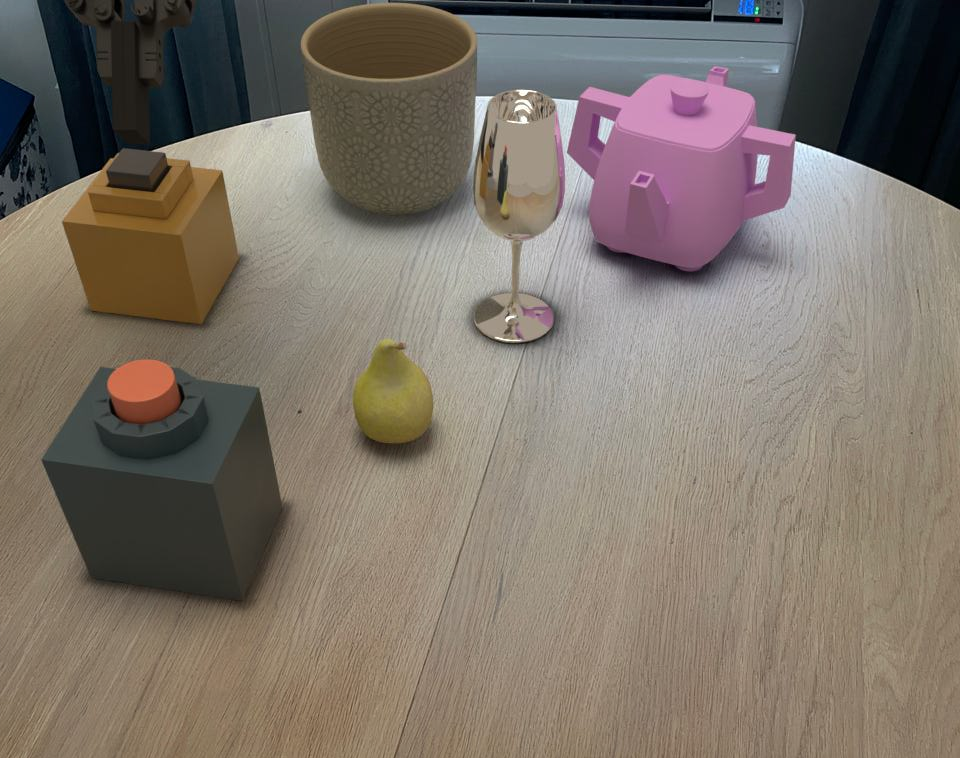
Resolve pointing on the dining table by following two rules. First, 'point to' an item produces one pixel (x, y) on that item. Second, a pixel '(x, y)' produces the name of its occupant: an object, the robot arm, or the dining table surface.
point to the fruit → (393, 396)
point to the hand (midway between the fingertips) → (131, 137)
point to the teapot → (678, 167)
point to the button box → (169, 488)
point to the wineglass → (518, 200)
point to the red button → (144, 391)
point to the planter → (392, 103)
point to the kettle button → (137, 170)
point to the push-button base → (154, 244)
